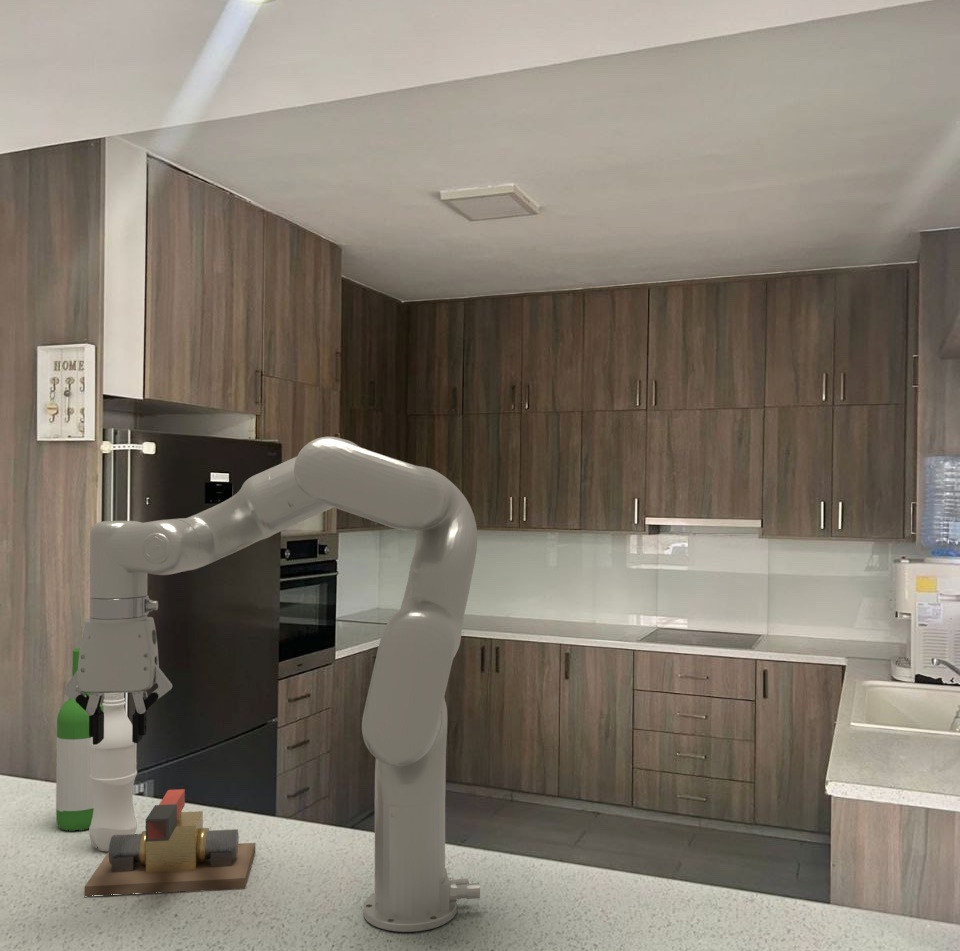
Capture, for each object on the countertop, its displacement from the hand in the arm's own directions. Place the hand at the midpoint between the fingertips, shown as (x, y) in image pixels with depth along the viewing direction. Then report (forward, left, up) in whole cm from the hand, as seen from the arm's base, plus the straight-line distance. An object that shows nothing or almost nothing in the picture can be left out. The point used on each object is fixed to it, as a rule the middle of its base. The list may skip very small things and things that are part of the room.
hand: (118, 740), depth 132 cm
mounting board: (-6, -9, -22) cm, 25 cm away
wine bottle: (+14, -33, -23) cm, 43 cm away
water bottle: (+6, -22, -23) cm, 32 cm away
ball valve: (-6, -10, -21) cm, 24 cm away
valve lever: (-6, -4, -14) cm, 16 cm away
